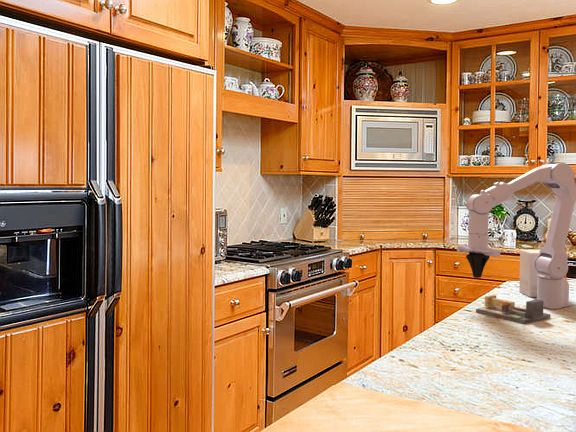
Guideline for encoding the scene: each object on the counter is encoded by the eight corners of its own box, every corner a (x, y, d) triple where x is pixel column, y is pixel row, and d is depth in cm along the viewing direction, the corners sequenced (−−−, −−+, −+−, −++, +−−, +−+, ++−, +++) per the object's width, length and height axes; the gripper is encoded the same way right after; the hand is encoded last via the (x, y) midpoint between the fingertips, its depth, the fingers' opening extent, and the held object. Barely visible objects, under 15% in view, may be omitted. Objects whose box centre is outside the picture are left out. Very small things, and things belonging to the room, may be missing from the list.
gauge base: (501, 307, 170) (502, 289, 169) (550, 318, 156) (550, 299, 156) (476, 312, 163) (476, 294, 163) (524, 324, 150) (525, 304, 149)
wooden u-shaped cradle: (493, 304, 167) (493, 294, 167) (516, 309, 161) (517, 299, 160) (481, 306, 164) (481, 296, 164) (504, 312, 158) (504, 301, 157)
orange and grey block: (504, 310, 158) (505, 300, 158) (508, 311, 157) (508, 301, 157) (500, 311, 157) (500, 301, 157) (503, 312, 156) (504, 302, 156)
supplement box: (556, 297, 183) (557, 252, 182) (529, 297, 183) (530, 252, 182) (544, 291, 192) (545, 249, 191) (518, 291, 192) (519, 249, 191)
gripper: (450, 232, 173) (449, 275, 174) (489, 236, 160) (488, 282, 161) (465, 231, 176) (464, 273, 177) (505, 235, 164) (503, 280, 165)
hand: (477, 277), depth 170 cm, fingers closed
